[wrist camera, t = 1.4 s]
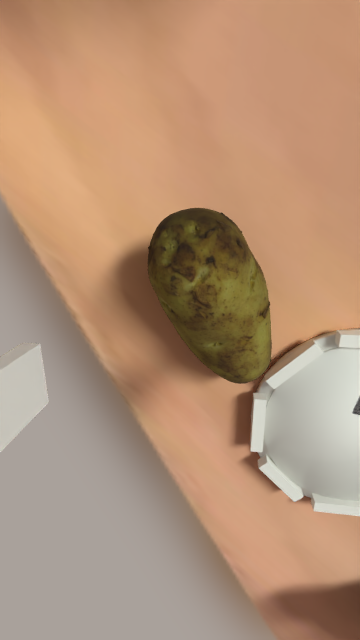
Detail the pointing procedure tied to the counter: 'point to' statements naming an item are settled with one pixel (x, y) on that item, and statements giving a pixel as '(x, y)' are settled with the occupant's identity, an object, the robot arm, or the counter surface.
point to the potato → (213, 292)
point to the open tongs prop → (357, 408)
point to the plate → (312, 422)
